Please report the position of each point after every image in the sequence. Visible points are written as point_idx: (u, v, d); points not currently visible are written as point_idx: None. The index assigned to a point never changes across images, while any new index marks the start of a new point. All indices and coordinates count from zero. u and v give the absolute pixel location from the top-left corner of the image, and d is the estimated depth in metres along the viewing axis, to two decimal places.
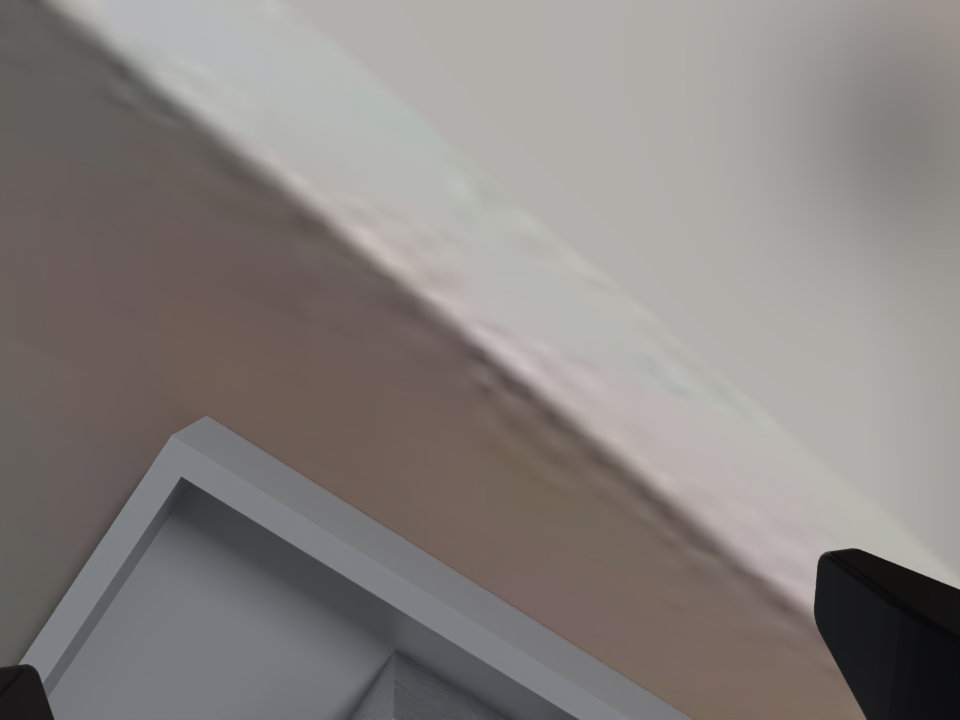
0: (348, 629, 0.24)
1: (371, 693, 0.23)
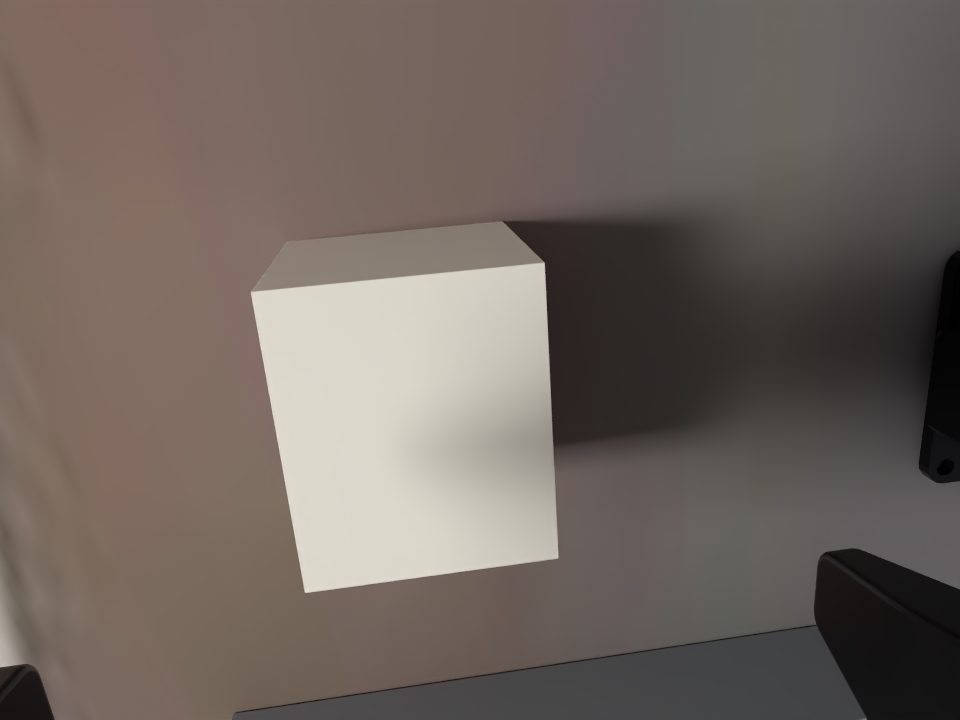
0: None
1: None
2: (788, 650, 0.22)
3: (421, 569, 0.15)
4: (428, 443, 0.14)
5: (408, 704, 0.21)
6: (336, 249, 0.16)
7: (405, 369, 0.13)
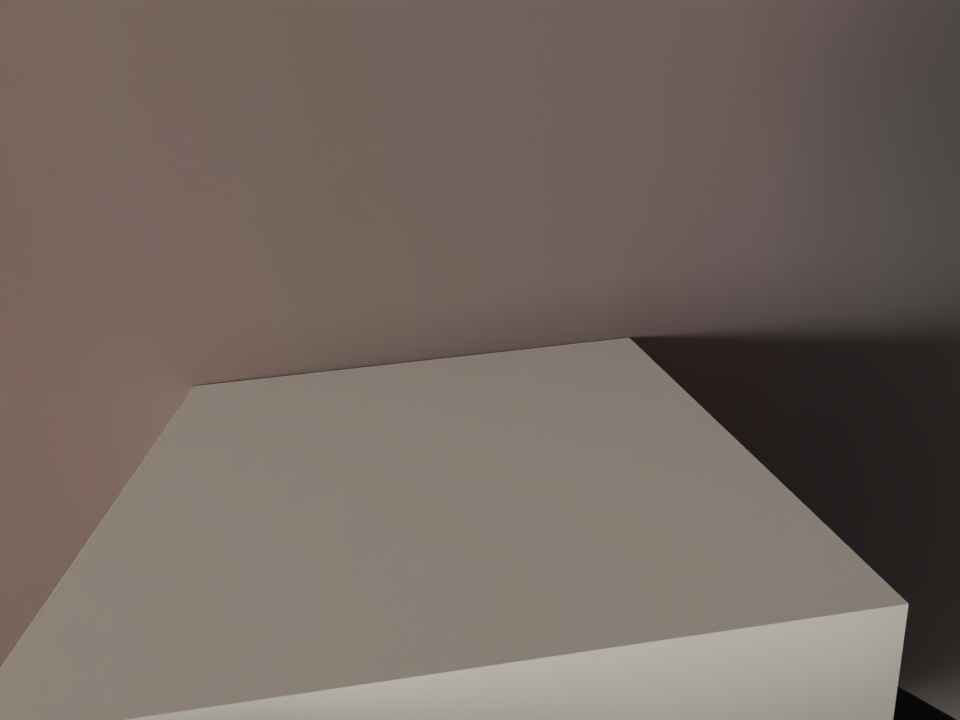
0: None
1: None
2: None
3: None
4: None
5: None
6: (285, 437, 0.07)
7: None
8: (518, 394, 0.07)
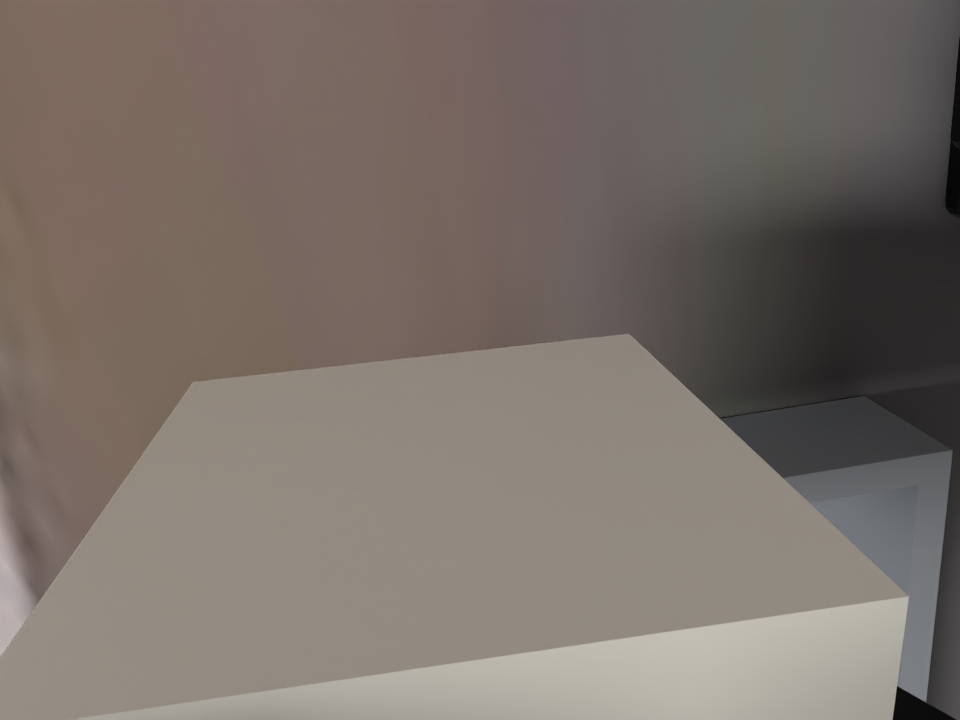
0: None
1: None
2: (809, 418, 0.20)
3: None
4: None
5: None
6: (284, 432, 0.07)
7: None
8: (518, 390, 0.07)
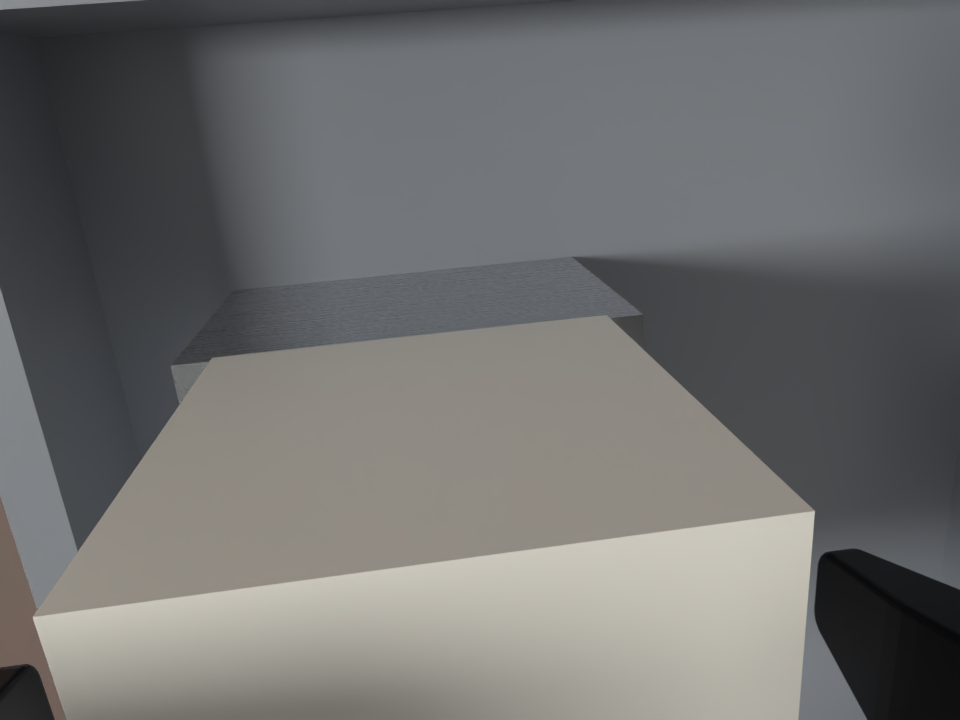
0: None
1: None
2: None
3: None
4: None
5: None
6: (297, 397, 0.08)
7: None
8: (504, 361, 0.08)
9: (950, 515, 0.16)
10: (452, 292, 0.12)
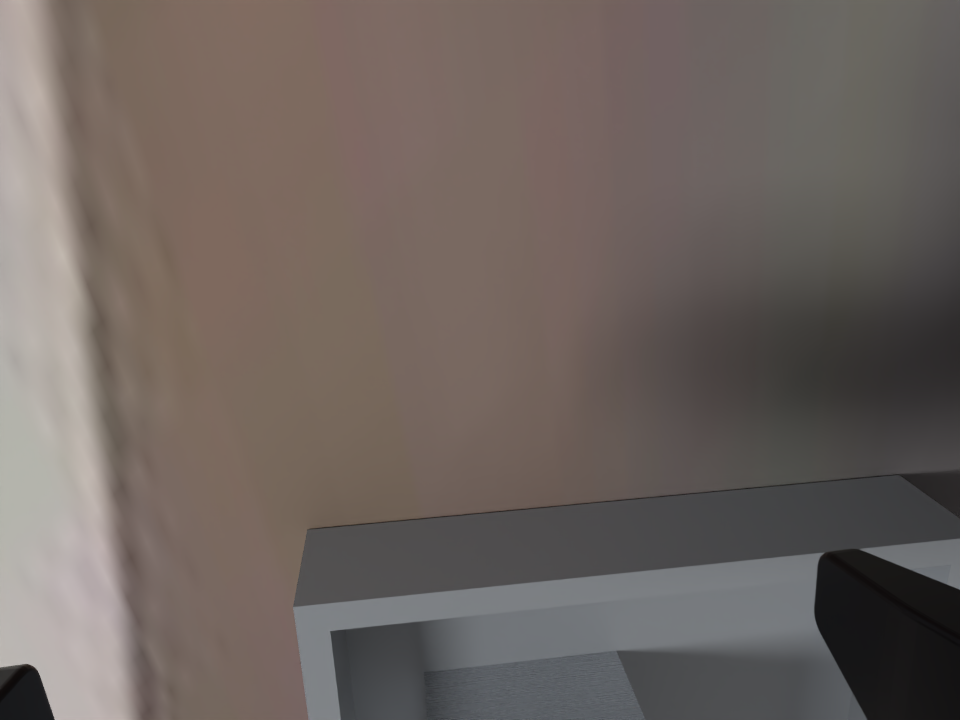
0: None
1: None
2: (851, 493, 0.22)
3: None
4: None
5: (481, 525, 0.21)
6: None
7: None
8: None
9: None
10: (555, 701, 0.21)
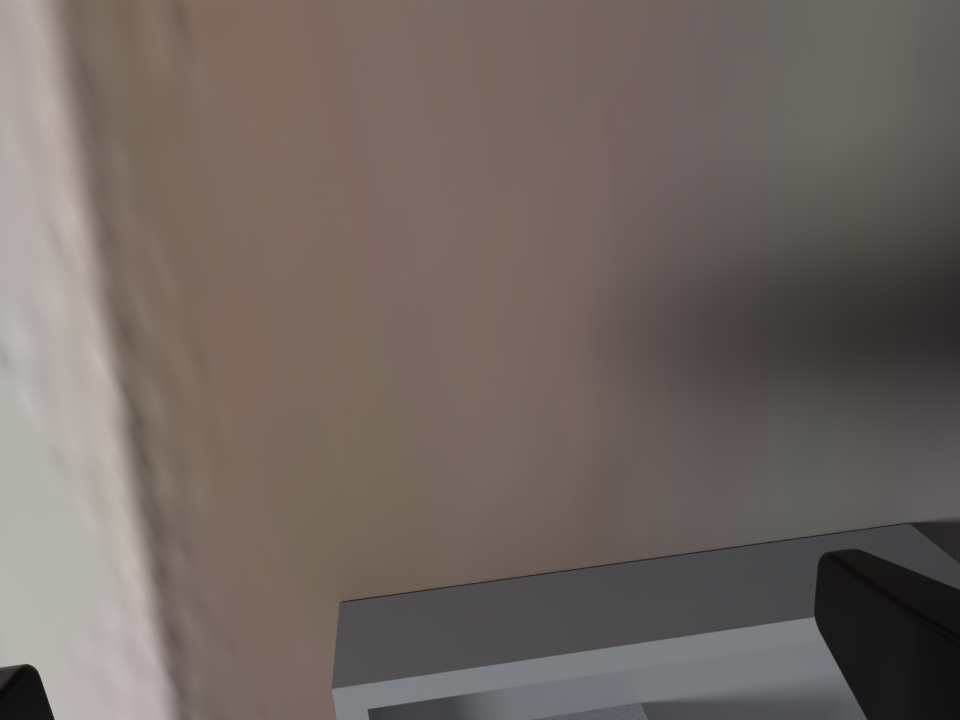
0: None
1: None
2: (863, 546, 0.23)
3: None
4: None
5: (506, 593, 0.22)
6: None
7: None
8: None
9: None
10: None
